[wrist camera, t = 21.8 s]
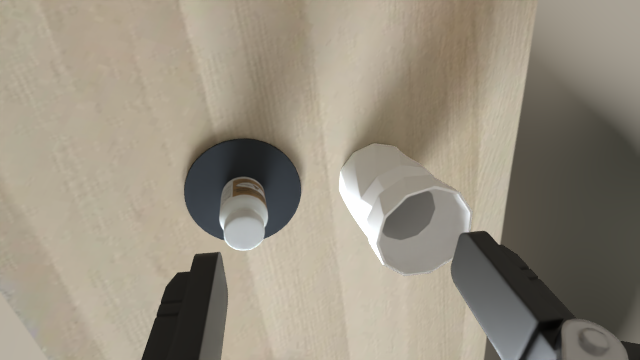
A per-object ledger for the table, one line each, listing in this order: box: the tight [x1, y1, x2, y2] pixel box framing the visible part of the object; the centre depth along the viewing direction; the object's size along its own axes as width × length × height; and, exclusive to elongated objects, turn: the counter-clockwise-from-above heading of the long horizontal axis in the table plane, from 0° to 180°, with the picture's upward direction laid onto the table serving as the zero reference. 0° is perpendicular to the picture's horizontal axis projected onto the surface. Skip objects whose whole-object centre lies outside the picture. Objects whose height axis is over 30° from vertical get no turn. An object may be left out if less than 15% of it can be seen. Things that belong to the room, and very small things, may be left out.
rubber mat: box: [184, 139, 301, 240], centre depth 36 cm, size 12×12×1 cm
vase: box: [339, 143, 473, 276], centre depth 33 cm, size 9×9×12 cm
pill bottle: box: [219, 177, 268, 250], centre depth 32 cm, size 4×4×8 cm
